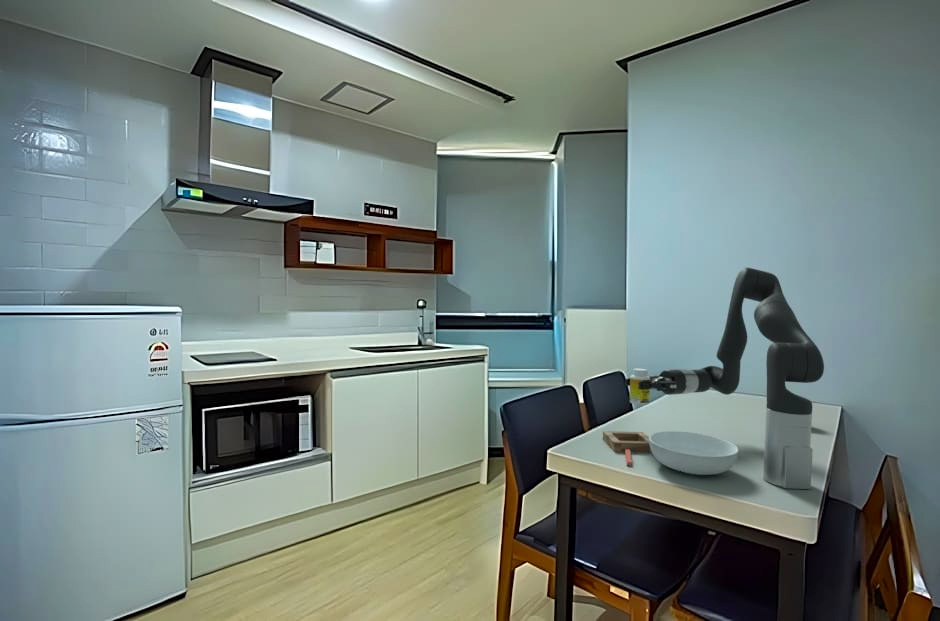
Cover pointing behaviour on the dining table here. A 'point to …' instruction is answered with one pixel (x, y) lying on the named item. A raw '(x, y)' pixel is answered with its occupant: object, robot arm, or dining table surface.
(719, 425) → the dining table surface
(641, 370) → the supplement bottle
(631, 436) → the brown wooden square frame
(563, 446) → the dining table surface
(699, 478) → the dining table surface
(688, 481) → the dining table surface
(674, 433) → the serving bowl
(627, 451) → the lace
